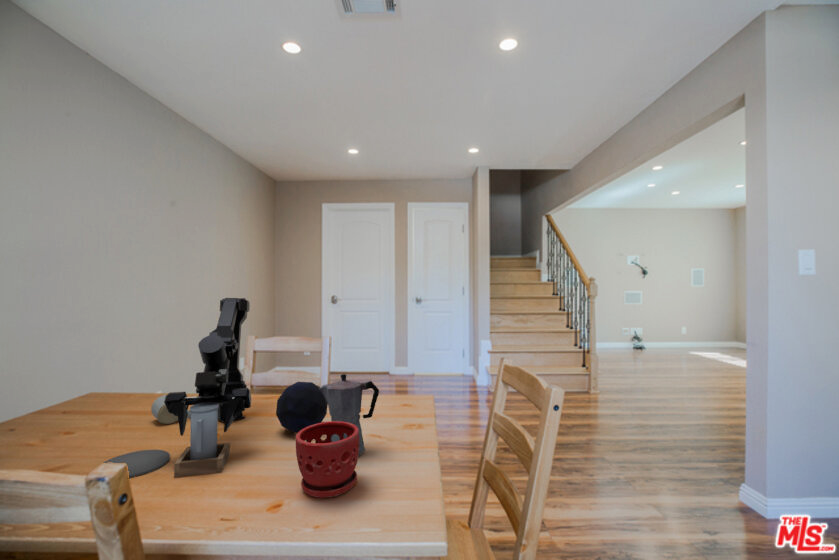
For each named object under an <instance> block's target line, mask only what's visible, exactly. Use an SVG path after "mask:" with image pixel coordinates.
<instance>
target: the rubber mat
mask: <svg viewBox="0 0 839 560" xmlns="http://www.w3.org/2000/svg"><path fill="white" fill-rule="evenodd" d="M169 459H171V454H170V452H169V451H166V450H162V449H142V450H137V451H132V452H131V451H130V452H128V453H125V454H121V455H118V456H114V457H112V458H110V459H108V460H106V461H104V462H103V463H107V462H113V463H126V464H127V466H128V471H129V477H130V478H129V479H132V478H135V477H134V476H136V477H139V475H140V476H144V475H146V473H147V474H149V472H150V473H153V472H154V471H157V470H160V469H161V468H163V467H164V466H166V465H167V464H168V463H169V461H170V460H169ZM167 462H168V463H167ZM166 463H167V464H166ZM162 466H163V467H162ZM143 474H144V475H143Z"/></svg>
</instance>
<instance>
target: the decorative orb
mask: <svg viewBox="0 0 839 560" xmlns="http://www.w3.org/2000/svg"><path fill="white" fill-rule="evenodd" d="M320 387H321V386H320ZM320 387H319V386H318V385H317V384H315V383H314V382H311V381H310V382H308V381H297V382H294V383H293V384H290V385H289V386H288V387H286V388H285V389H284V390H283V392H282V393H281V395H279V397H278V398H277V400H276V411H275V415H276V418H277V419H278V422H279V424H280V426H281V427H283V429H286V430H288V431H290V432H292V433H295V434H297V433H298V432H299V431H301V430H302V429H304V428H306V427H308V426H311V425H314V424H317V423H322V422H323V421H324V419H325V417H326V416H327V414H328V403H327V401H326V399H325V397H324V395H323V393H322V391H321V390H319V388H320Z"/></svg>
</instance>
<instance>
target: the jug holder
mask: <svg viewBox="0 0 839 560" xmlns="http://www.w3.org/2000/svg"><path fill="white" fill-rule="evenodd" d="M230 450H231V442H224V443H217V458H209V459H199V460H190V446H187V447H186V448H184V450H183V452H181V454H180V456H179V457H178V458H177V459H176V461H175V462H174V465H173V467H174V468H173V472H174V473H173V477H174V478H180V477H189V476H199V475H206V474H207V475H208V474H210V475H211V474H217V473H222V472H223V470H224V468H225V466H226V464H227V462H228V459H229V457H230V455H231V451H230Z"/></svg>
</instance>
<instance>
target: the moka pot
mask: <svg viewBox="0 0 839 560" xmlns="http://www.w3.org/2000/svg"><path fill="white" fill-rule="evenodd" d="M340 378H341V380H339V381H334V382H332V383H327V384H323V385H322V386H320V388H319V390H321V391H322V393H323V395H324V397H325V399H326V401H327V403H328V406H327V408H328V412H329V416H330V421H342V422H348V423H352V424H354V425H355V426H357V427H358V430H359V454H358V456H360V455H362V454H363V453H364V451H366V450H365V443H364V437H363V432H362V425H361V421H360V419H361V415H360V414H361V411H362V401H363V400H362V398H363V391H367V390H369V389H372V390H373V393H372V398H371V402H370V408H369V410H368V413H367V414H362V418H363V419H369V418H372V417H373V414H374V412H375V411H374V410H375V407H376V403H377V400H378V397H379V394H380V389H379V388H378V387H377V386H376V385H375V384H374V382H373V381H372V380H369V381H367V382H366V381H363V382H361V381H357V380H347V374H345V373H343V374H340ZM344 438H345V439H346V438H347V434H346V433H344ZM331 440H332V442H336V441H340V438H339V436H338V435H337V434H334V435H332V437H331Z"/></svg>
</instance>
